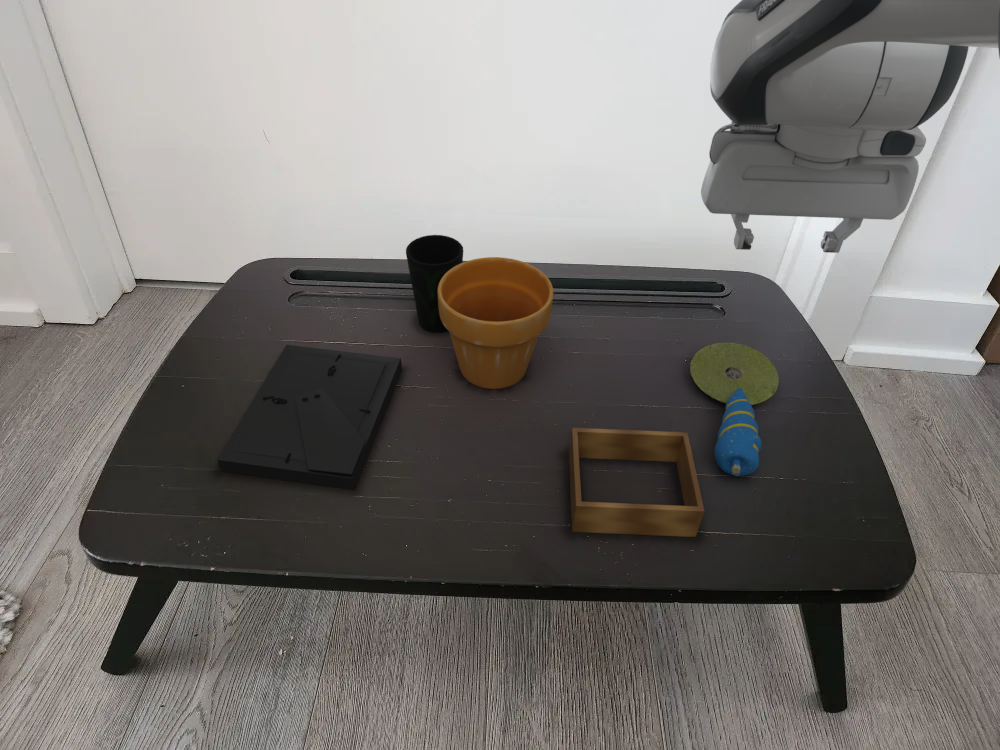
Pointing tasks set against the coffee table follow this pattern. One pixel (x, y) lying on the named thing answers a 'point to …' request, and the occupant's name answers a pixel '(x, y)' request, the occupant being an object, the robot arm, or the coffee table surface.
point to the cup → (431, 275)
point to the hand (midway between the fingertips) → (785, 248)
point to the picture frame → (313, 417)
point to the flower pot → (494, 317)
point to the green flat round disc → (734, 372)
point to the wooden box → (635, 515)
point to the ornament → (738, 437)
